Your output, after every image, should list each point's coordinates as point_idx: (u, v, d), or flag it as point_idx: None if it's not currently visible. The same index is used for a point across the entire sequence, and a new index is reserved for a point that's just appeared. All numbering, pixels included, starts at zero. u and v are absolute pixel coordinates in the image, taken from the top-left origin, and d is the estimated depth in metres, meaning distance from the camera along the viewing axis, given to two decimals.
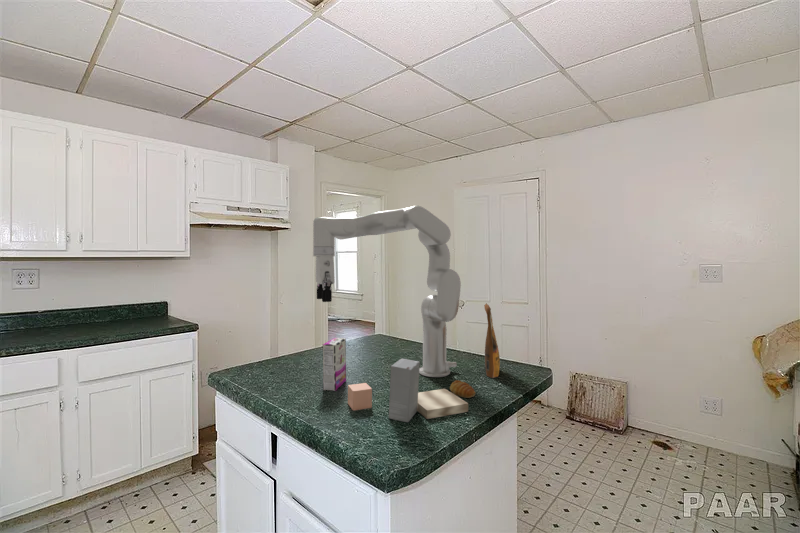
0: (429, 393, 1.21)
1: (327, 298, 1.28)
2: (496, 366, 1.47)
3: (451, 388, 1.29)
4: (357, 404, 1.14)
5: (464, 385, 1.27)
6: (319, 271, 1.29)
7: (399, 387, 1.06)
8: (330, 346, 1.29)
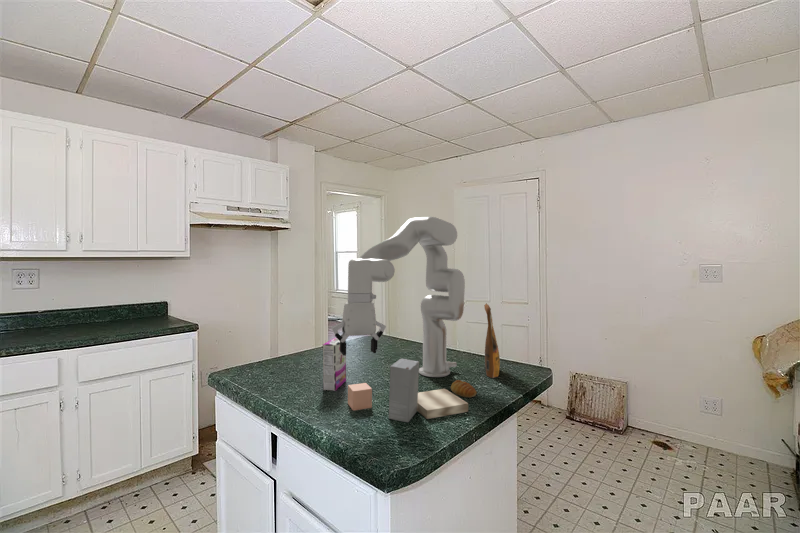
0: (429, 393, 1.21)
1: None
2: (496, 366, 1.47)
3: (452, 388, 1.29)
4: (357, 404, 1.14)
5: (465, 385, 1.28)
6: (371, 320, 1.16)
7: (398, 387, 1.06)
8: (330, 346, 1.29)
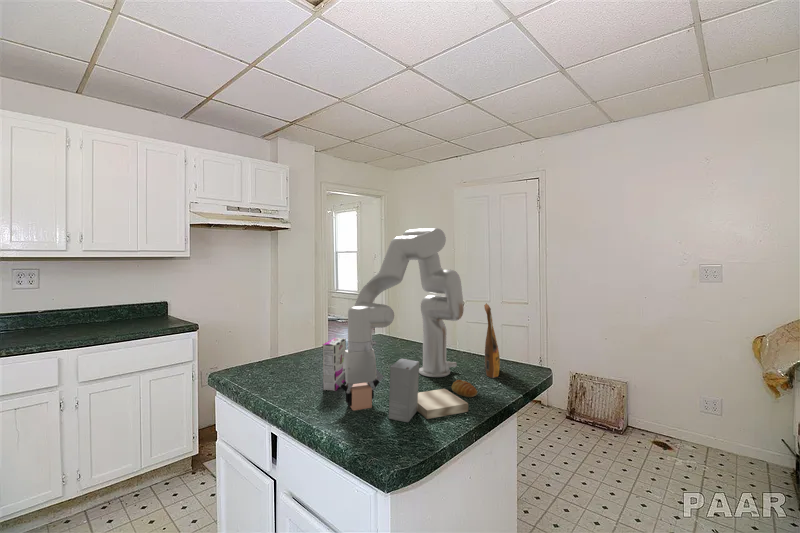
0: (429, 393, 1.21)
1: None
2: (496, 366, 1.47)
3: (453, 387, 1.29)
4: (357, 404, 1.14)
5: (466, 384, 1.28)
6: (372, 367, 1.16)
7: (398, 387, 1.06)
8: (330, 346, 1.29)
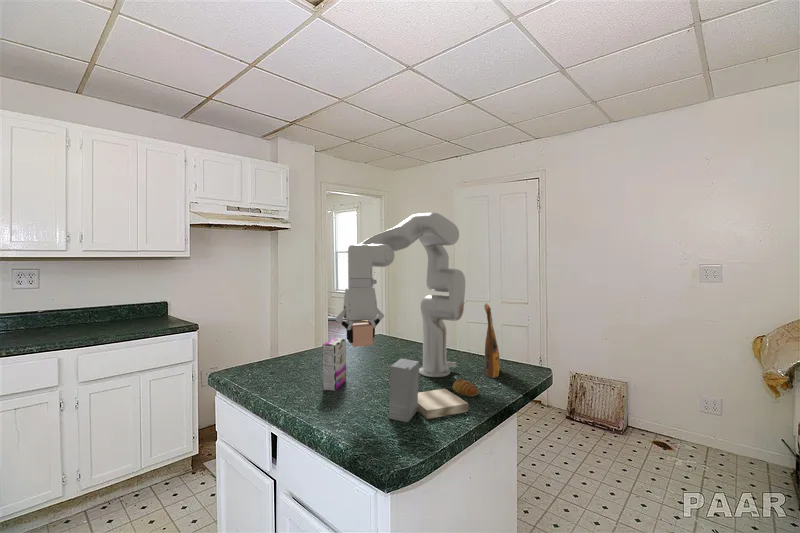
0: (429, 393, 1.21)
1: None
2: (496, 366, 1.47)
3: (454, 387, 1.30)
4: (358, 340, 1.14)
5: (467, 384, 1.29)
6: (372, 305, 1.16)
7: (398, 387, 1.06)
8: (330, 346, 1.29)
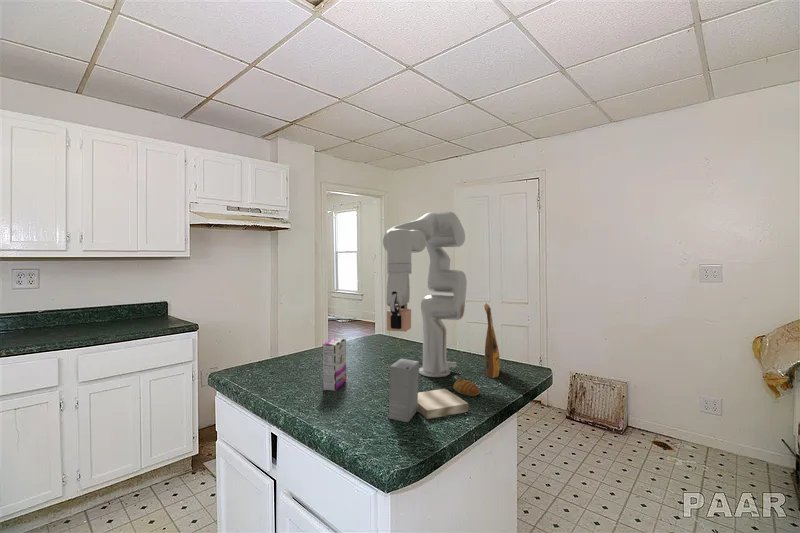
0: (429, 393, 1.21)
1: None
2: (496, 366, 1.47)
3: (455, 387, 1.30)
4: (407, 325, 1.14)
5: (468, 383, 1.29)
6: (409, 289, 1.19)
7: (398, 387, 1.06)
8: (330, 346, 1.29)
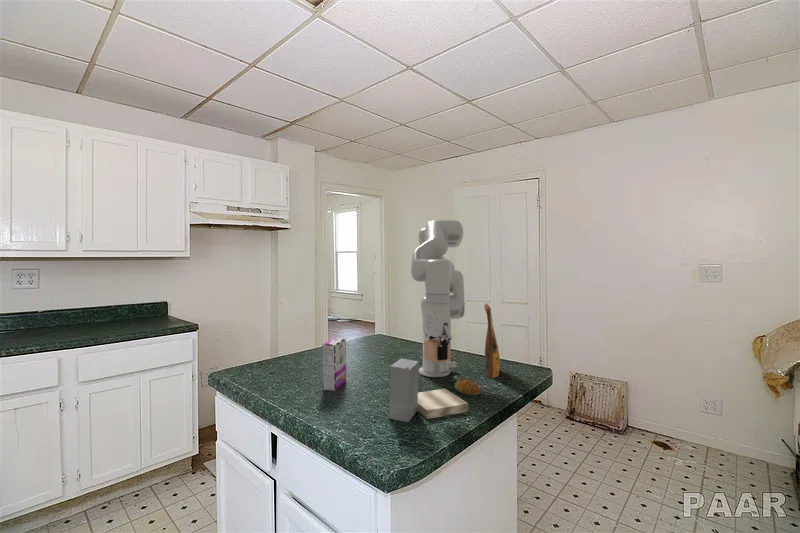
0: (429, 393, 1.21)
1: None
2: (496, 366, 1.47)
3: (456, 386, 1.31)
4: None
5: (469, 383, 1.30)
6: None
7: (398, 387, 1.06)
8: (330, 346, 1.29)
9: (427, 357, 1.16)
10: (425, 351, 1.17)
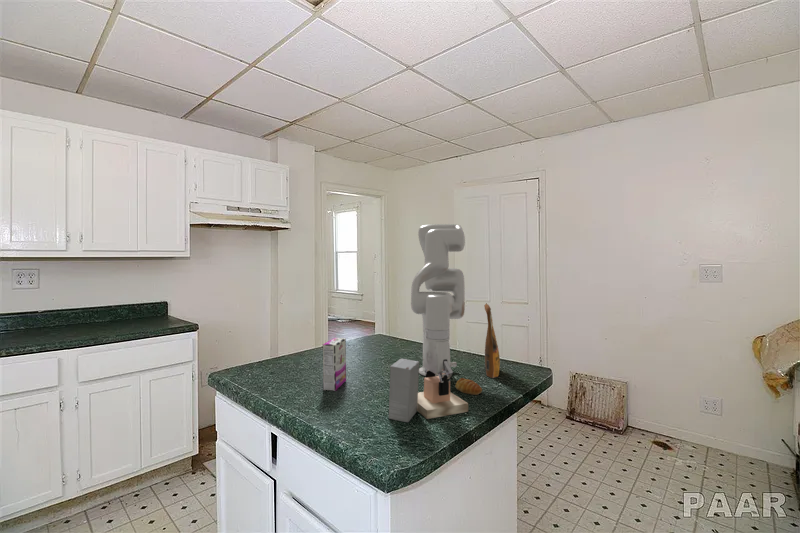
0: None
1: None
2: (496, 366, 1.47)
3: (457, 386, 1.31)
4: None
5: (470, 382, 1.30)
6: None
7: (398, 387, 1.06)
8: (330, 346, 1.29)
9: (427, 396, 1.16)
10: (425, 390, 1.18)
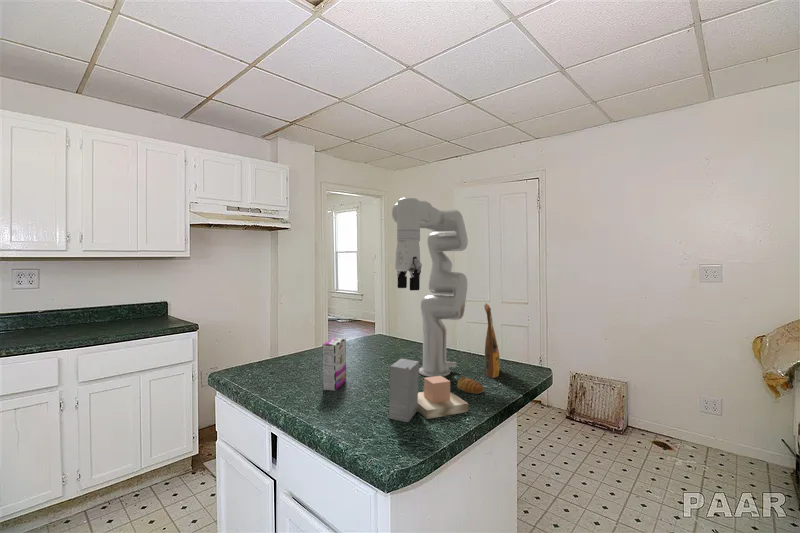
0: None
1: None
2: (496, 366, 1.47)
3: (459, 385, 1.32)
4: None
5: (472, 381, 1.31)
6: None
7: (398, 387, 1.06)
8: (330, 346, 1.29)
9: (427, 396, 1.16)
10: (425, 390, 1.18)
